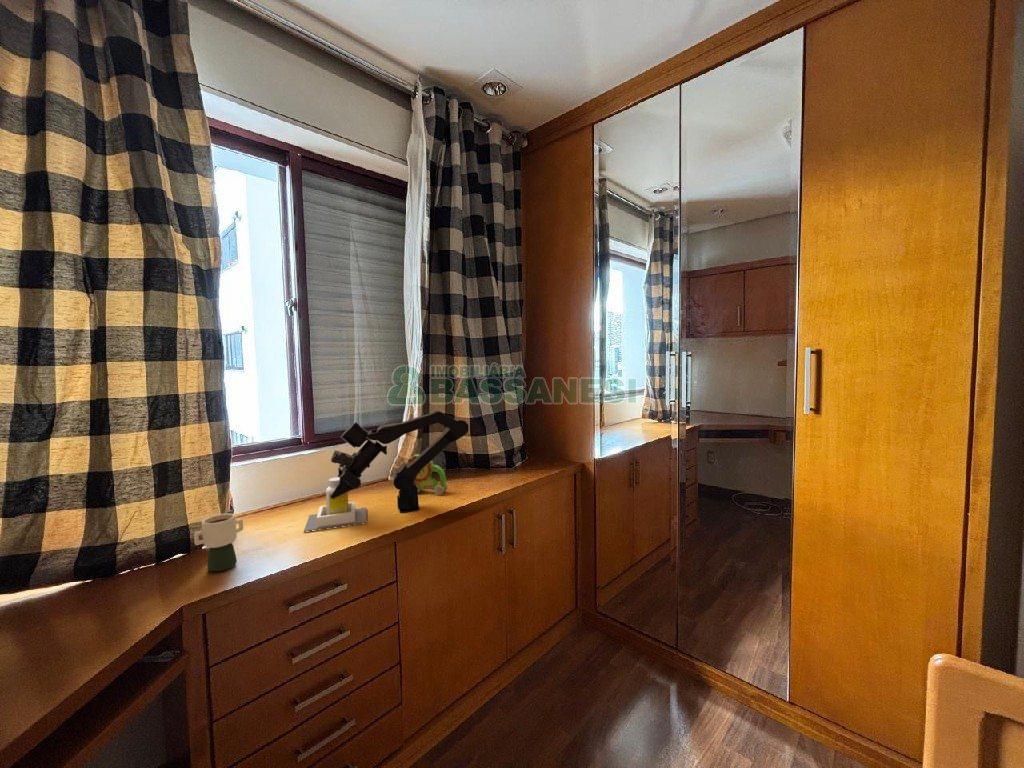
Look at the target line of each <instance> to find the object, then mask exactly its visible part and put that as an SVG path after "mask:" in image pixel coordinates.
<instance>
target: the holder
mask: <svg viewBox="0 0 1024 768" xmlns="http://www.w3.org/2000/svg"><path fill="white" fill-rule="evenodd" d="M318 508H319V509H318V512H317V513H315V514H309V516H308V519H307V521H306V525H305V528H304V530H303V532H306V531H312V530H319V529H327V528H333V529H335V528H334V527H340V528H343V527H342V526H347V527H349V526H348V525H353V526H355V525H354V524H360V525H363V524H362V523H366V521H367V507H358V508H357V507H356V502H355V501H348V510H349V512H347V513H340V514H333V515H327V509H326V505H320V506H319V507H318ZM327 530H328V529H327Z"/></svg>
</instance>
